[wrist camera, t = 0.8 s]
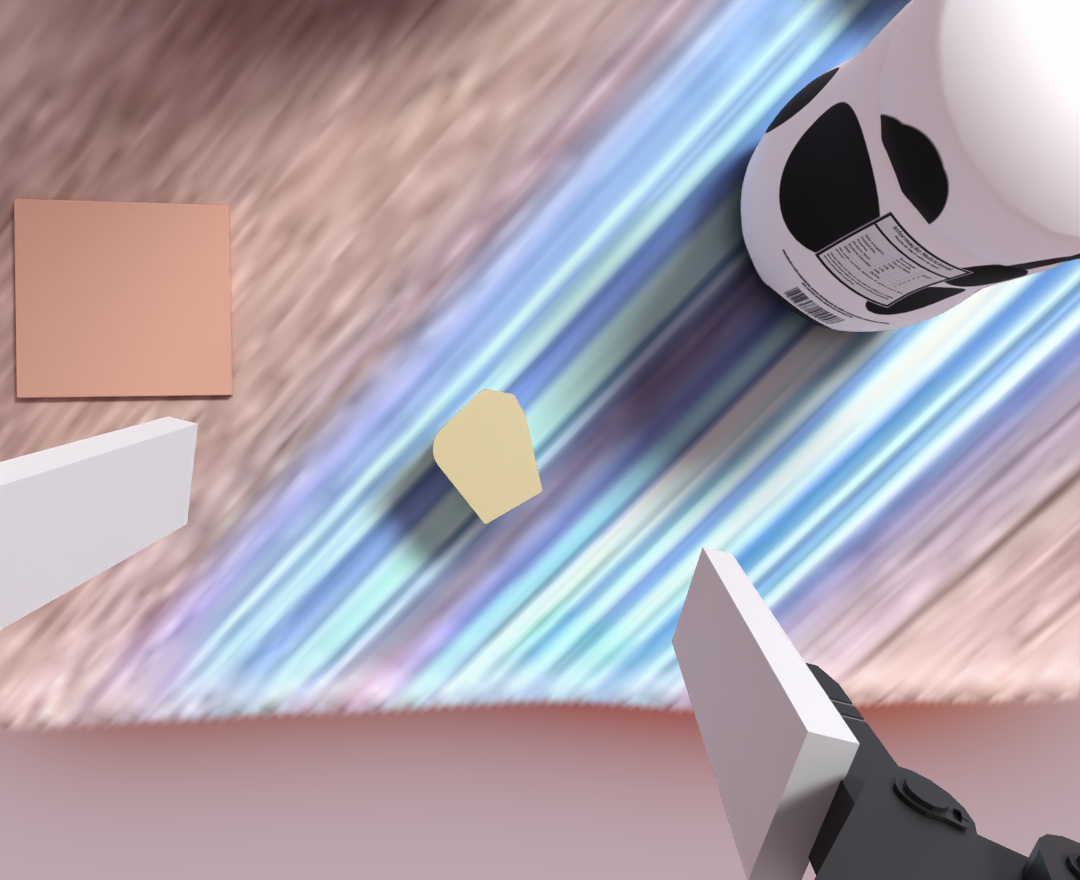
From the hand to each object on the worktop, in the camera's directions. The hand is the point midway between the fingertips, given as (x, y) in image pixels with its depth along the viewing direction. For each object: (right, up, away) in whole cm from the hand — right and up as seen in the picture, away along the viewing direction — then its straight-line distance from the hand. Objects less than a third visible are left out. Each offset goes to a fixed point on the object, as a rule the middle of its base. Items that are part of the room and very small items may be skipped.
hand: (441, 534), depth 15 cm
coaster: (-23, +11, +21) cm, 33 cm away
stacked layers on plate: (-1, +1, +25) cm, 25 cm away
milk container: (+24, +18, +29) cm, 42 cm away
